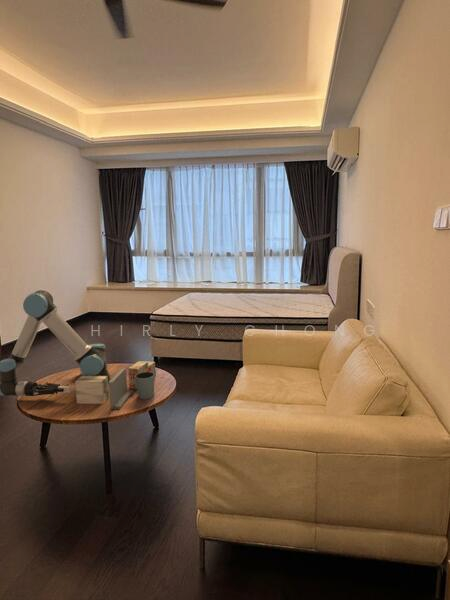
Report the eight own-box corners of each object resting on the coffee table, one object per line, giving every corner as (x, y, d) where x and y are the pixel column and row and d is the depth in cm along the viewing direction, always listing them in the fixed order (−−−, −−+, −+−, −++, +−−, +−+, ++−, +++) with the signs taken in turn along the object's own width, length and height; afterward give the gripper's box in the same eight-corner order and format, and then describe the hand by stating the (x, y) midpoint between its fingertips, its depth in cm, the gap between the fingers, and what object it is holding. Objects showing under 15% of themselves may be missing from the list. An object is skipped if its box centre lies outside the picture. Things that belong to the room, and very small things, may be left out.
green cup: (158, 393, 210) (157, 372, 208) (150, 400, 200) (149, 378, 199) (141, 391, 213) (140, 370, 211) (132, 399, 203) (131, 377, 201)
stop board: (123, 392, 212) (122, 368, 209) (132, 392, 211) (131, 368, 209) (110, 408, 192) (108, 382, 190) (120, 409, 191) (118, 382, 189)
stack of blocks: (146, 375, 238) (145, 356, 236) (156, 376, 236) (155, 356, 234) (129, 388, 218) (128, 367, 216) (139, 389, 216) (138, 368, 214)
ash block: (83, 397, 207) (81, 375, 205) (109, 397, 206) (107, 376, 204) (77, 403, 199) (75, 381, 197) (103, 403, 198) (101, 381, 196)
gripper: (35, 390, 211) (76, 391, 210) (20, 400, 199) (65, 401, 197) (33, 377, 210) (75, 377, 208) (19, 386, 197) (63, 387, 196)
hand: (70, 389), depth 203 cm, fingers closed
